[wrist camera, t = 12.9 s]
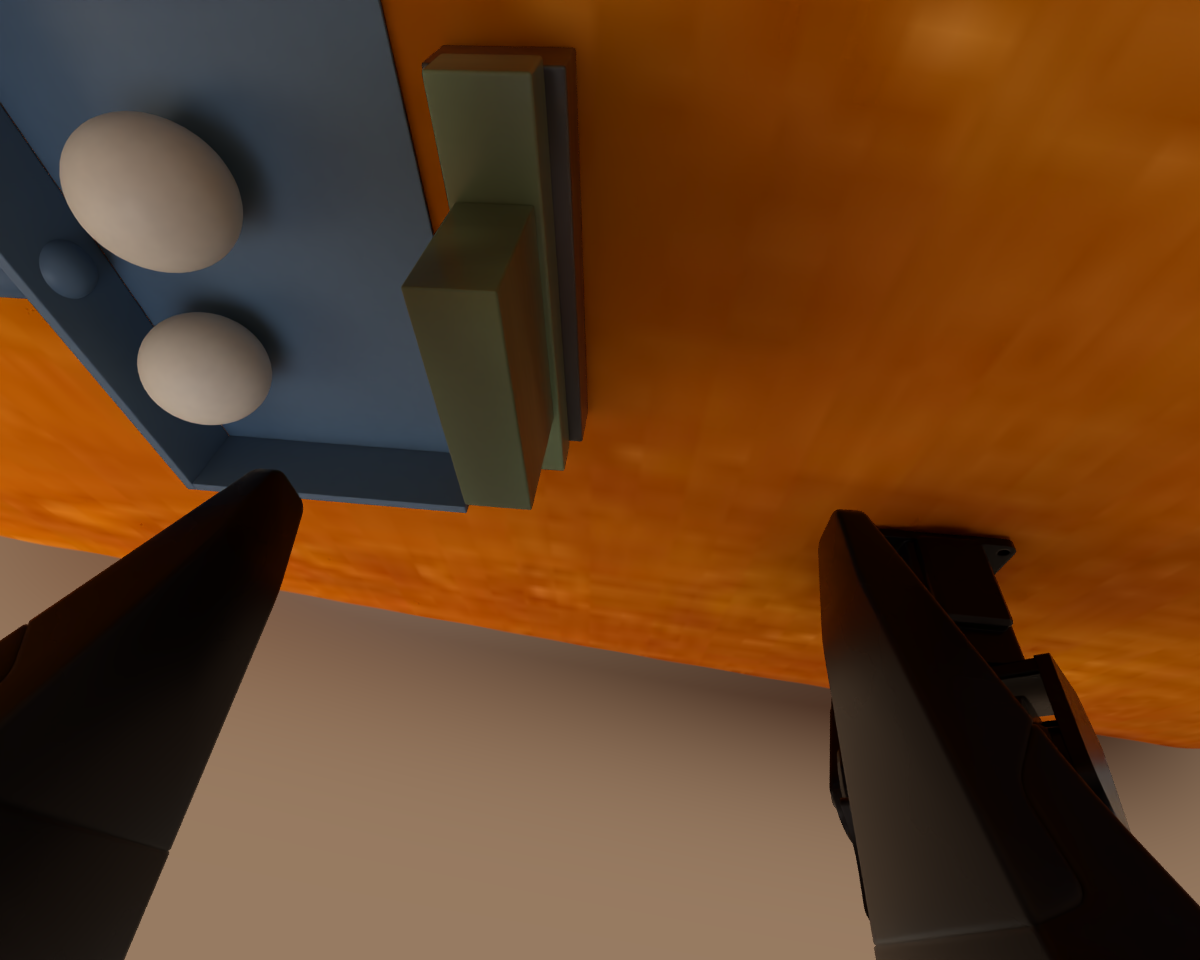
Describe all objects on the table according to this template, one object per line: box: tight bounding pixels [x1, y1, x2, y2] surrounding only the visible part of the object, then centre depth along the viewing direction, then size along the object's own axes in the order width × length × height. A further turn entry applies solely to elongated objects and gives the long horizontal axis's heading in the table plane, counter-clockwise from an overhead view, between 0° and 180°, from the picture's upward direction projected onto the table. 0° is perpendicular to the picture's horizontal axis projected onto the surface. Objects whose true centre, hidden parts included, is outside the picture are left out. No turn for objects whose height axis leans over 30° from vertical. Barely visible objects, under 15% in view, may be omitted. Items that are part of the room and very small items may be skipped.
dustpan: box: [0, 0, 469, 513], centre depth 19 cm, size 22×19×3 cm
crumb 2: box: [137, 312, 272, 425], centre depth 21 cm, size 4×4×4 cm
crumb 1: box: [59, 111, 243, 273], centre depth 16 cm, size 4×4×4 cm
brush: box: [401, 45, 588, 510], centre depth 16 cm, size 3×12×7 cm, turn 0°
